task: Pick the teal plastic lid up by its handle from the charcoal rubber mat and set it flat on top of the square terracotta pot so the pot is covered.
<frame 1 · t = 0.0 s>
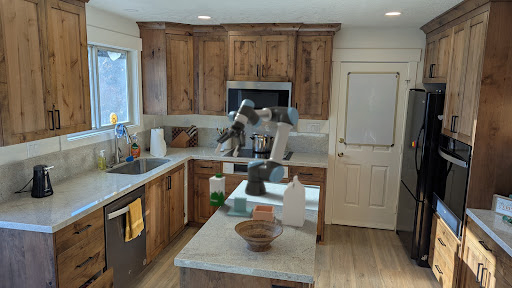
hand: (225, 155, 199), 36 cm above the countertop, tool tilted 35°, fingers open, 13 cm apart
milk: (293, 221, 198), on the countertop
mat: (240, 213, 209), on the countertop
pot: (263, 220, 200), on the countertop
lid: (240, 212, 209), point 1 cm above the countertop, touching mat
milk carton: (217, 205, 222), on the countertop
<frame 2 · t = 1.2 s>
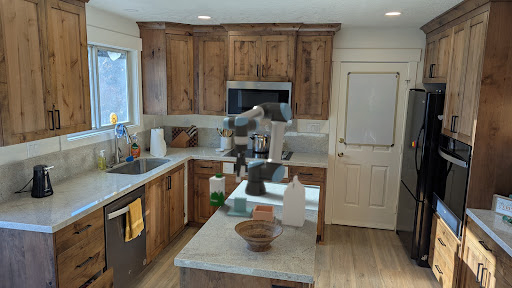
hand: (240, 179, 206), 21 cm above the countertop, tool pointing down, fingers open, 13 cm apart
nothing on the countertop moved.
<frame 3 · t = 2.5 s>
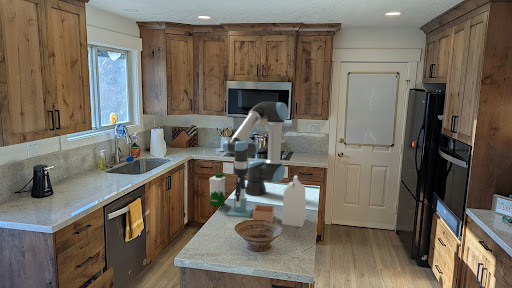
hand: (240, 202, 208), 6 cm above the countertop, tool pointing down, fingers open, 13 cm apart
nothing on the countertop moved.
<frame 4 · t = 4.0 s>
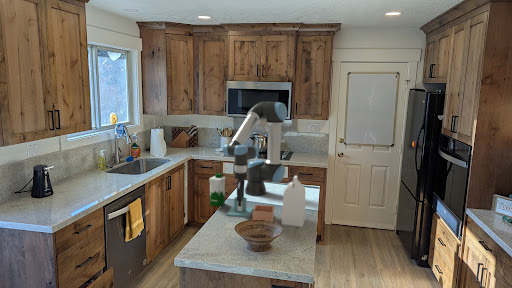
hand: (240, 210, 209), 2 cm above the countertop, tool pointing down, fingers closed on lid, 2 cm apart
lid: (240, 212, 209), point 1 cm above the countertop, touching gripper, mat
everything else where it was.
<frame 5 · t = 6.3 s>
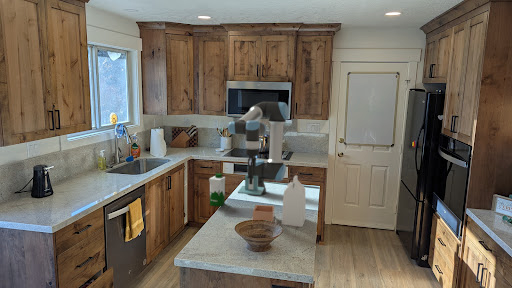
hand: (251, 188, 201), 17 cm above the countertop, tool pointing down, fingers closed on lid, 2 cm apart
lid: (251, 190, 202), point 16 cm above the countertop, touching gripper
everything else where it was.
when the fingers open (10 cm above the countertop, at t = 8.6 s): lid drops 2 cm, point 7 cm above the countertop.
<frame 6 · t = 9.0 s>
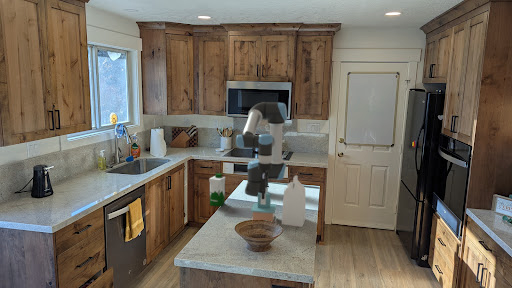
hand: (264, 201, 198), 11 cm above the countertop, tool pointing down, fingers open, 9 cm apart
lid: (263, 208, 198), point 7 cm above the countertop
everything else where it was.
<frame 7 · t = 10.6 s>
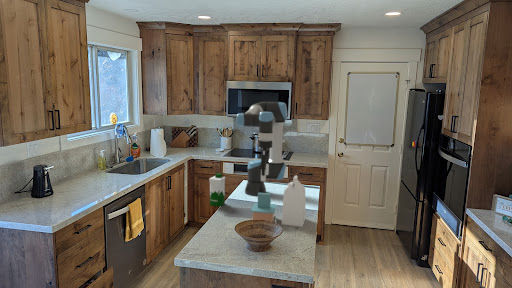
hand: (264, 177, 196), 25 cm above the countertop, tool pointing down, fingers open, 13 cm apart
pot: (263, 220, 200), on the countertop, touching lid
lid: (264, 208, 198), point 7 cm above the countertop, touching pot
everything else where it was.
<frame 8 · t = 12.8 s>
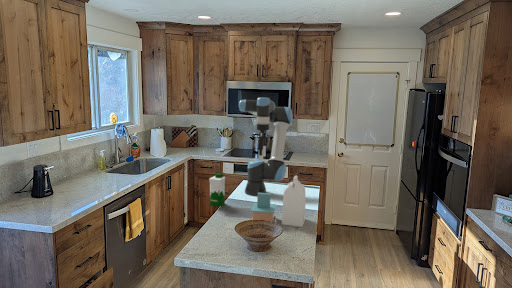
hand: (262, 158, 214), 32 cm above the countertop, tool pointing down, fingers open, 13 cm apart
pot: (263, 220, 200), on the countertop
lid: (263, 208, 198), point 7 cm above the countertop
everything else where it was.
at the end: lid 0.1 cm off-centre on the pot, point 7.0 cm above the pot's base; lid tilted 0°; the gripper is holding nothing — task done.
